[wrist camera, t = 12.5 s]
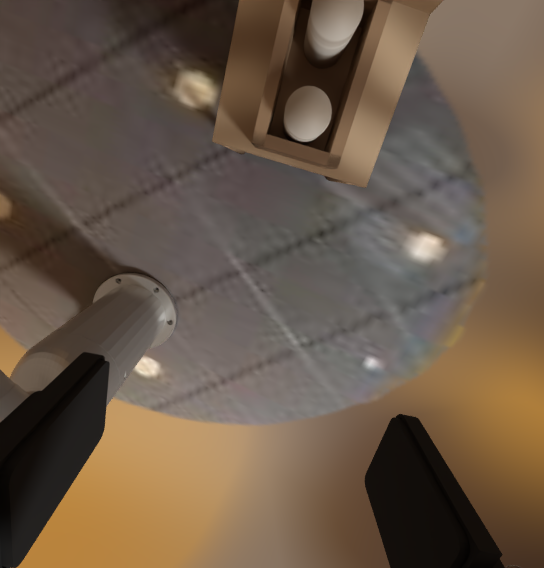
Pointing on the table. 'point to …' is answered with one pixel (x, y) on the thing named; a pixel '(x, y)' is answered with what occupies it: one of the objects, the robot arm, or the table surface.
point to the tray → (318, 77)
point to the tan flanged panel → (373, 104)
